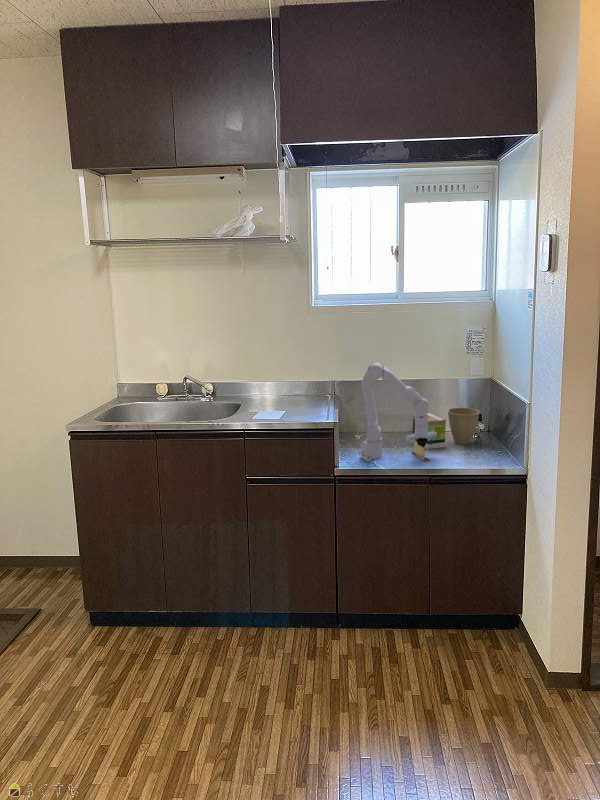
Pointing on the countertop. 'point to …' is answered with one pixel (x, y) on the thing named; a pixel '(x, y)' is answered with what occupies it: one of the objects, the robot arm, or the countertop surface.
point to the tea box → (436, 426)
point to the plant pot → (463, 424)
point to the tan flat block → (419, 451)
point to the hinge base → (424, 458)
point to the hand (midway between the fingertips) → (421, 453)
